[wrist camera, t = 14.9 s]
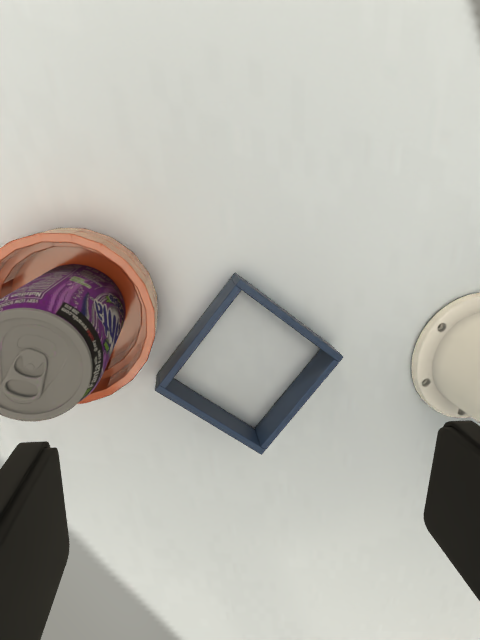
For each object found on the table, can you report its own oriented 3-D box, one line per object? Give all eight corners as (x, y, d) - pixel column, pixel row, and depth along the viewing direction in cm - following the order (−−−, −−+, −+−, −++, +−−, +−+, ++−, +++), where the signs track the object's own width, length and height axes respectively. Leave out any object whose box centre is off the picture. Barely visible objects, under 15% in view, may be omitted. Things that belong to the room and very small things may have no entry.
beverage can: (109, 361, 33) (75, 444, 22) (20, 331, 32) (-66, 406, 20) (139, 283, 32) (120, 330, 21) (48, 247, 30) (-28, 277, 19)
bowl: (187, 289, 33) (189, 304, 29) (103, 400, 35) (92, 432, 30) (52, 193, 30) (28, 192, 25) (-34, 322, 31) (-71, 344, 27)
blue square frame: (330, 345, 37) (343, 357, 34) (255, 436, 38) (261, 454, 35) (234, 272, 33) (240, 279, 31) (156, 375, 35) (154, 390, 32)
